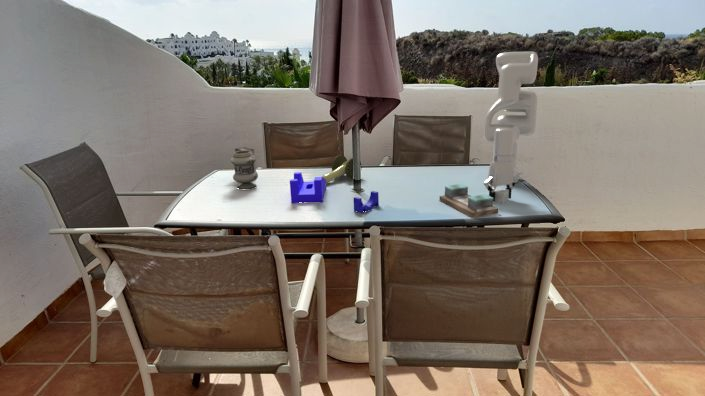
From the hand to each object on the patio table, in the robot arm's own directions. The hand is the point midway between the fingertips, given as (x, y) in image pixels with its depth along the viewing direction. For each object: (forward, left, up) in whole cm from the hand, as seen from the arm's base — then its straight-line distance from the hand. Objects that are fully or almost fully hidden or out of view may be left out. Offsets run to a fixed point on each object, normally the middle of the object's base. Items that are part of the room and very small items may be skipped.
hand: (499, 198), depth 196 cm
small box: (0, 0, -1) cm, 1 cm away
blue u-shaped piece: (+54, -16, -1) cm, 56 cm away
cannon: (+50, -64, -1) cm, 81 cm away
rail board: (+16, 0, -1) cm, 16 cm away
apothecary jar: (+95, -73, -1) cm, 120 cm away
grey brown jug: (+92, -90, -1) cm, 129 cm away
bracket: (+71, -45, -2) cm, 84 cm away
